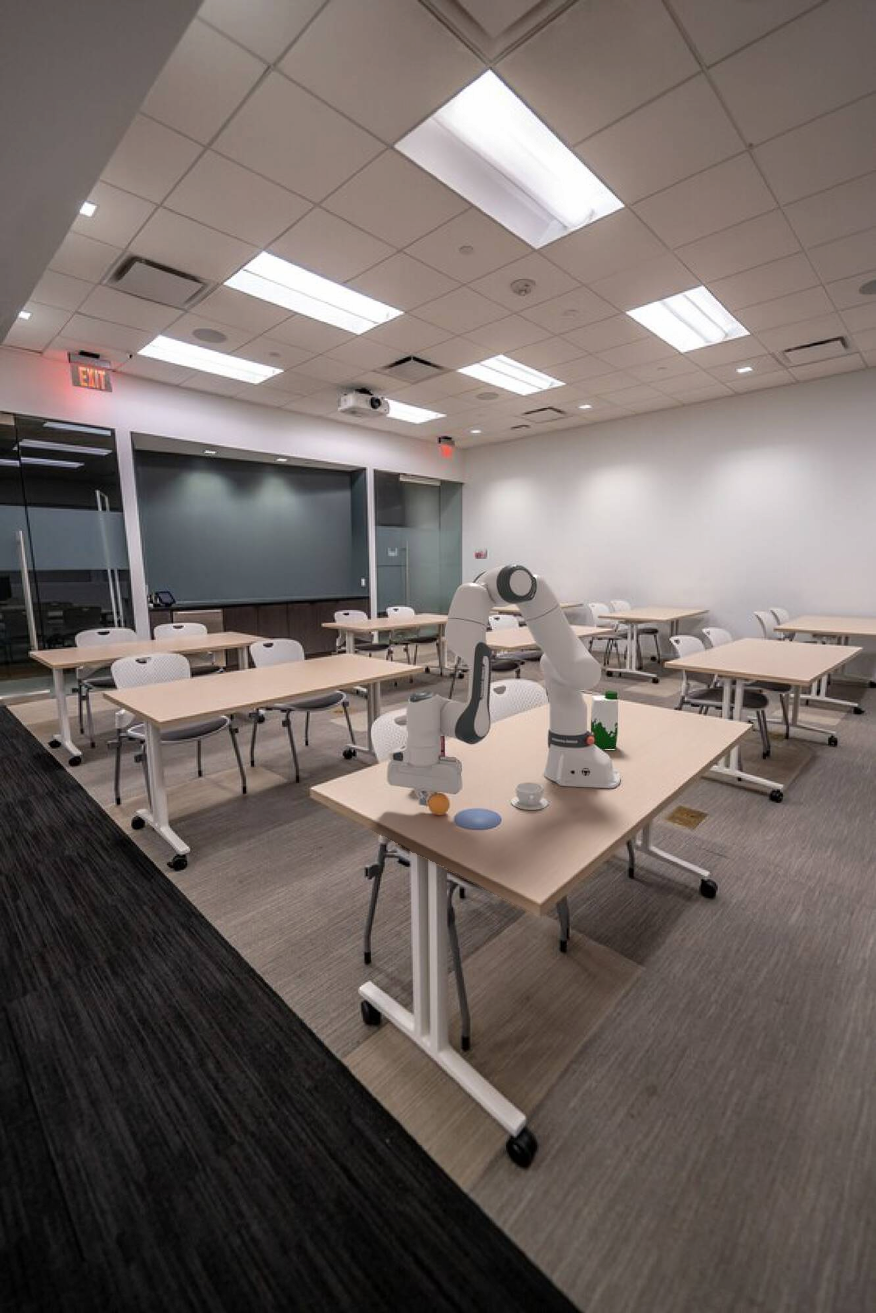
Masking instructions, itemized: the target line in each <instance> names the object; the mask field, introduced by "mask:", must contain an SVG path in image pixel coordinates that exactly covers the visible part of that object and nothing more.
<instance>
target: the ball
mask: <svg viewBox="0 0 876 1313" xmlns="http://www.w3.org/2000/svg"><path fill="white" fill-rule="evenodd" d="M450 806H451V802H450V799H449V797H448V796H447V795H446V793H442V792H434V793H433V795H432V796H431V797H430V799H429V802H428V806H427V807H428V809H429V811H430V813H432V814H433V815H436V816H443V815H445V814H447V812H448V811H449V810H450Z"/></svg>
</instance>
